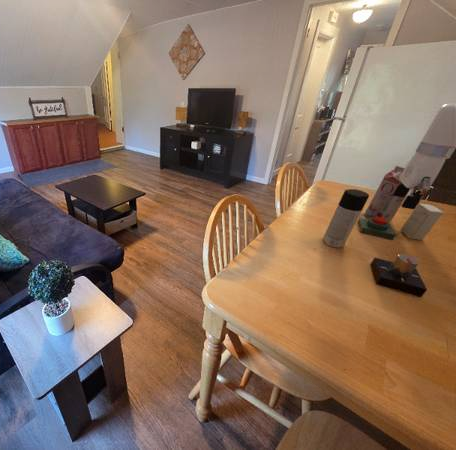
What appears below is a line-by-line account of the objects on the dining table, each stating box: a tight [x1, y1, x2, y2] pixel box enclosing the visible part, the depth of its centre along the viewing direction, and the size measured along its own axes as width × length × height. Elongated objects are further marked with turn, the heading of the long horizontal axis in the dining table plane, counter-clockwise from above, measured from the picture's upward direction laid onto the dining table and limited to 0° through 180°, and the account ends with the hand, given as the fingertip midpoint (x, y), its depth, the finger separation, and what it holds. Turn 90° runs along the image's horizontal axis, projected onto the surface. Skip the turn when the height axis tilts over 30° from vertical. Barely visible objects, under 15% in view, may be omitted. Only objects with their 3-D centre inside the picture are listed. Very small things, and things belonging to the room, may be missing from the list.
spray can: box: [322, 188, 370, 248], centre depth 84 cm, size 7×7×20 cm
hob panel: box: [369, 257, 428, 298], centre depth 72 cm, size 10×10×3 cm
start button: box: [373, 217, 387, 225], centre depth 94 cm, size 4×4×2 cm
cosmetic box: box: [400, 202, 445, 241], centre depth 90 cm, size 6×4×12 cm
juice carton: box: [363, 165, 411, 223], centre depth 99 cm, size 7×7×22 cm
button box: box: [357, 217, 397, 241], centre depth 95 cm, size 10×9×4 cm
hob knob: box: [389, 253, 420, 277], centre depth 70 cm, size 4×4×5 cm
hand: (402, 201), depth 81 cm, fingers open, 9 cm apart
